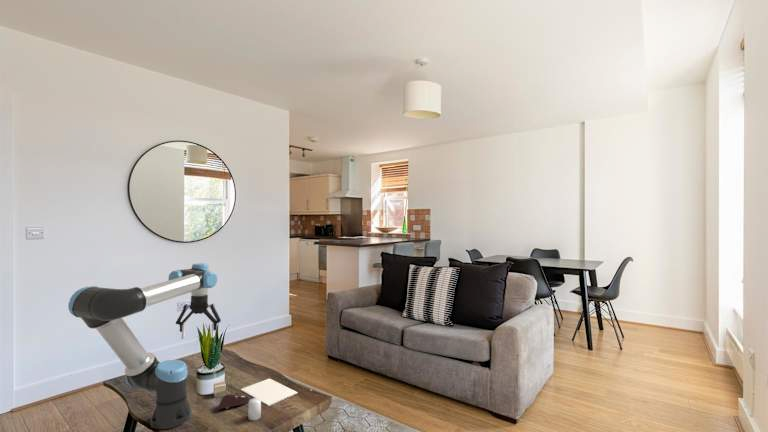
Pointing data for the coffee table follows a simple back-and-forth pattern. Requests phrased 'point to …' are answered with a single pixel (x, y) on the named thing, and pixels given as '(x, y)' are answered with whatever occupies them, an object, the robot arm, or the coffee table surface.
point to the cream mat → (269, 391)
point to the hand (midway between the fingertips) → (198, 337)
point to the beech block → (219, 389)
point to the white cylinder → (254, 409)
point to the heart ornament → (232, 400)
